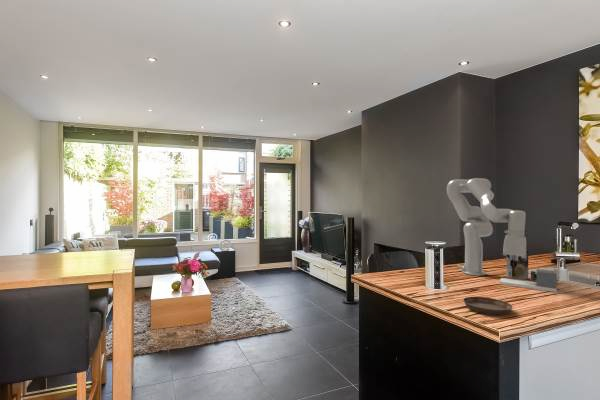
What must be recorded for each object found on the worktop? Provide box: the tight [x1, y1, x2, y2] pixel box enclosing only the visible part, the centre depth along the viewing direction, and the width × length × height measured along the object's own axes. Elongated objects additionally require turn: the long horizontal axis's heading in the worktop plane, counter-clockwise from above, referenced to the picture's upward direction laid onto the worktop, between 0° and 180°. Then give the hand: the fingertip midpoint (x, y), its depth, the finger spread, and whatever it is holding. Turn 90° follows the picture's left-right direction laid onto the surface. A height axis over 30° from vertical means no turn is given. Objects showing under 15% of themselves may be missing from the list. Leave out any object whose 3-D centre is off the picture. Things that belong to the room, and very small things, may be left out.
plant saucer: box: [462, 296, 513, 316], centre depth 136 cm, size 18×18×3 cm
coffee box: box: [506, 250, 529, 280], centre depth 191 cm, size 9×6×16 cm
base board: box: [499, 277, 558, 293], centre depth 173 cm, size 24×10×2 cm, turn 55°
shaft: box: [530, 270, 560, 282], centre depth 169 cm, size 12×5×5 cm, turn 55°
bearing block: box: [535, 268, 558, 290], centre depth 168 cm, size 8×8×7 cm
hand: (513, 267), depth 177 cm, fingers closed
